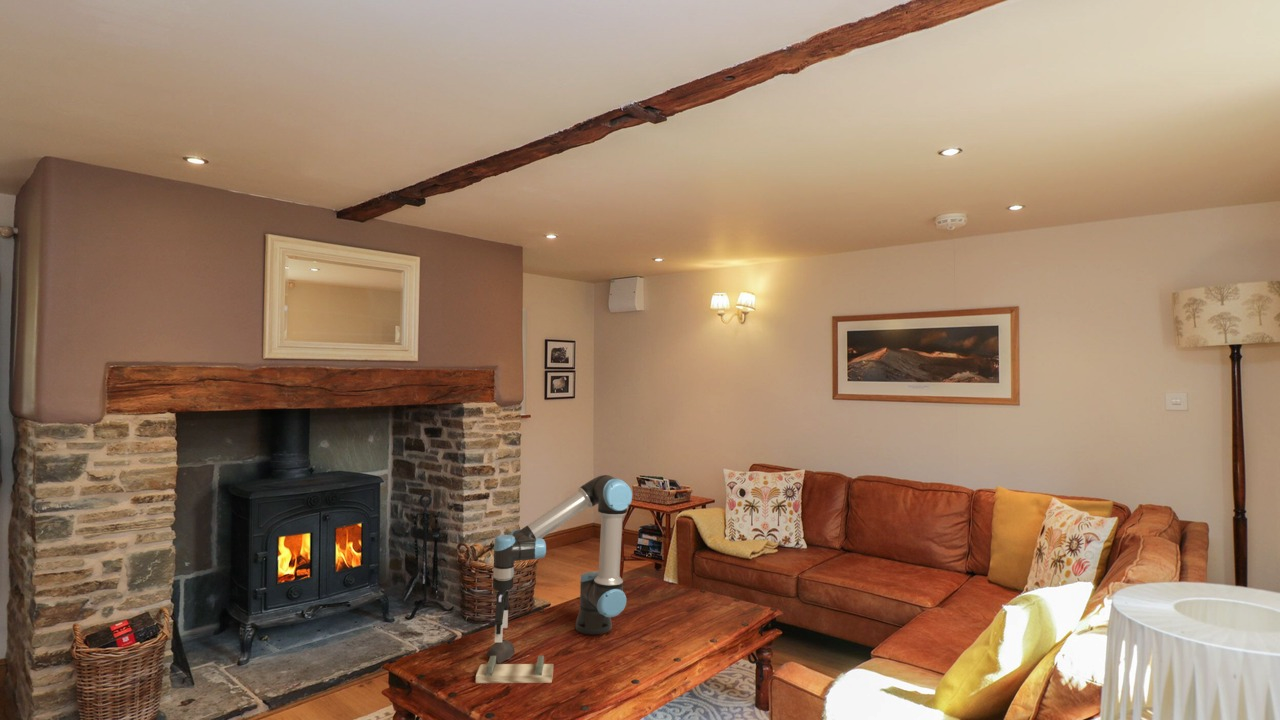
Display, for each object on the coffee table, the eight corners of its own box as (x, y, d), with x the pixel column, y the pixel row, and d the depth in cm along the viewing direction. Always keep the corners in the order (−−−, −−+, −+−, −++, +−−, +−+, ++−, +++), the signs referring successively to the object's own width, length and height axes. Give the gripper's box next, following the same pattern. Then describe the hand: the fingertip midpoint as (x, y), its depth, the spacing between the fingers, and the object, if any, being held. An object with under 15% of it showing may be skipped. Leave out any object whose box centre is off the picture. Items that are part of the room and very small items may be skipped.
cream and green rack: (553, 670, 245) (553, 655, 245) (551, 682, 236) (551, 666, 236) (480, 671, 243) (480, 655, 243) (475, 683, 234) (476, 667, 234)
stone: (485, 672, 251) (496, 660, 246) (481, 649, 256) (492, 637, 251) (509, 669, 257) (520, 657, 251) (504, 647, 262) (516, 635, 257)
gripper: (498, 567, 266) (496, 621, 266) (487, 588, 242) (485, 648, 241) (517, 567, 267) (515, 622, 267) (508, 588, 242) (506, 648, 242)
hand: (501, 634), depth 254 cm, fingers open, 13 cm apart
